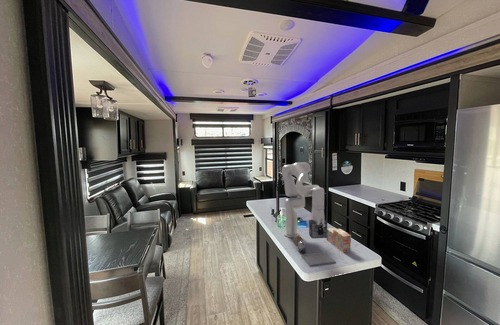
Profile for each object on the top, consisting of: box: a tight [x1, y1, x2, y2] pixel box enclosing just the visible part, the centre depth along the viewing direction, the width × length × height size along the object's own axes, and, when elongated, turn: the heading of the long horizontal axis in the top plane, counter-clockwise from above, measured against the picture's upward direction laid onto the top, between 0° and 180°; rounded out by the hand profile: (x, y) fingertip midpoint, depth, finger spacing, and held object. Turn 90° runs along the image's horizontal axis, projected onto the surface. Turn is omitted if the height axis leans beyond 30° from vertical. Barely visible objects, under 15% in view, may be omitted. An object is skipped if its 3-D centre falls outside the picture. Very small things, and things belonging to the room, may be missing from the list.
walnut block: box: [293, 236, 304, 247], centre depth 168 cm, size 5×5×5 cm
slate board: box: [301, 251, 336, 267], centre depth 146 cm, size 13×18×1 cm
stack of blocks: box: [326, 227, 352, 253], centre depth 165 cm, size 21×6×12 cm, turn 12°
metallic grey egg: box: [297, 240, 307, 254], centre depth 157 cm, size 5×5×7 cm
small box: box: [308, 219, 328, 239], centre depth 144 cm, size 11×6×10 cm, turn 92°
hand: (317, 232), depth 145 cm, fingers closed on small box, 6 cm apart
